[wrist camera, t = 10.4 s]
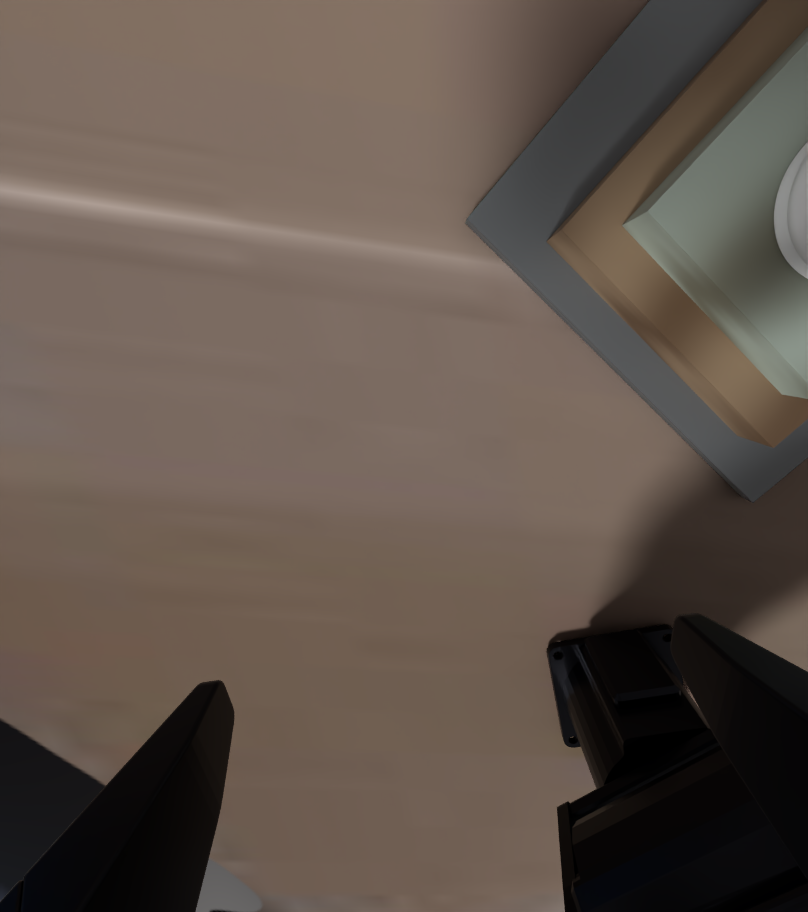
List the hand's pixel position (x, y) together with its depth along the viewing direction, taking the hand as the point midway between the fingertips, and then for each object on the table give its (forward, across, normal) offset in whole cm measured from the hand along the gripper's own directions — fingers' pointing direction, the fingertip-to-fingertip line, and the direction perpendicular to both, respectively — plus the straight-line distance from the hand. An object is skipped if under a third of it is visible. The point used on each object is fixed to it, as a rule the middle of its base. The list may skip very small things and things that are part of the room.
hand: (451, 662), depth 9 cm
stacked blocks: (+13, -15, -7) cm, 21 cm away
